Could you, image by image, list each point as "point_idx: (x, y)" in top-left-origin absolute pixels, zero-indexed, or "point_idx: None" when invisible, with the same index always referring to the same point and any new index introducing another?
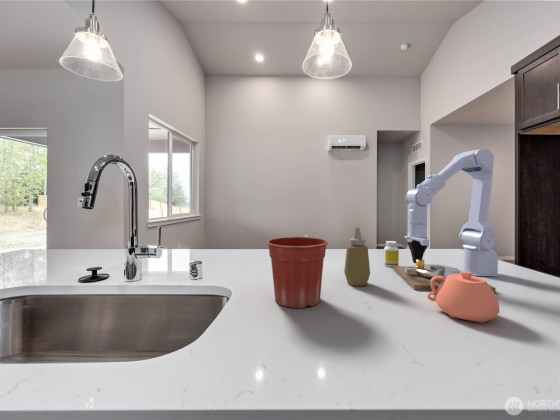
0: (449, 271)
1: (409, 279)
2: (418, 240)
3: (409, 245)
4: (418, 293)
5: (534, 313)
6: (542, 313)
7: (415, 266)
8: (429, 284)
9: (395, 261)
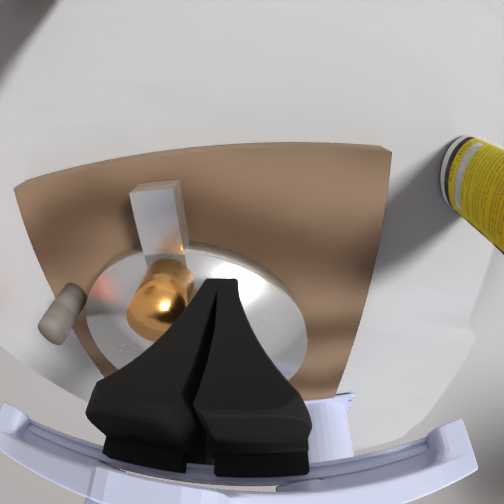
0: None
1: (70, 179)
2: (23, 445)
3: (207, 387)
4: (5, 189)
5: (37, 363)
6: (45, 372)
7: (230, 271)
8: (41, 249)
9: (459, 198)
